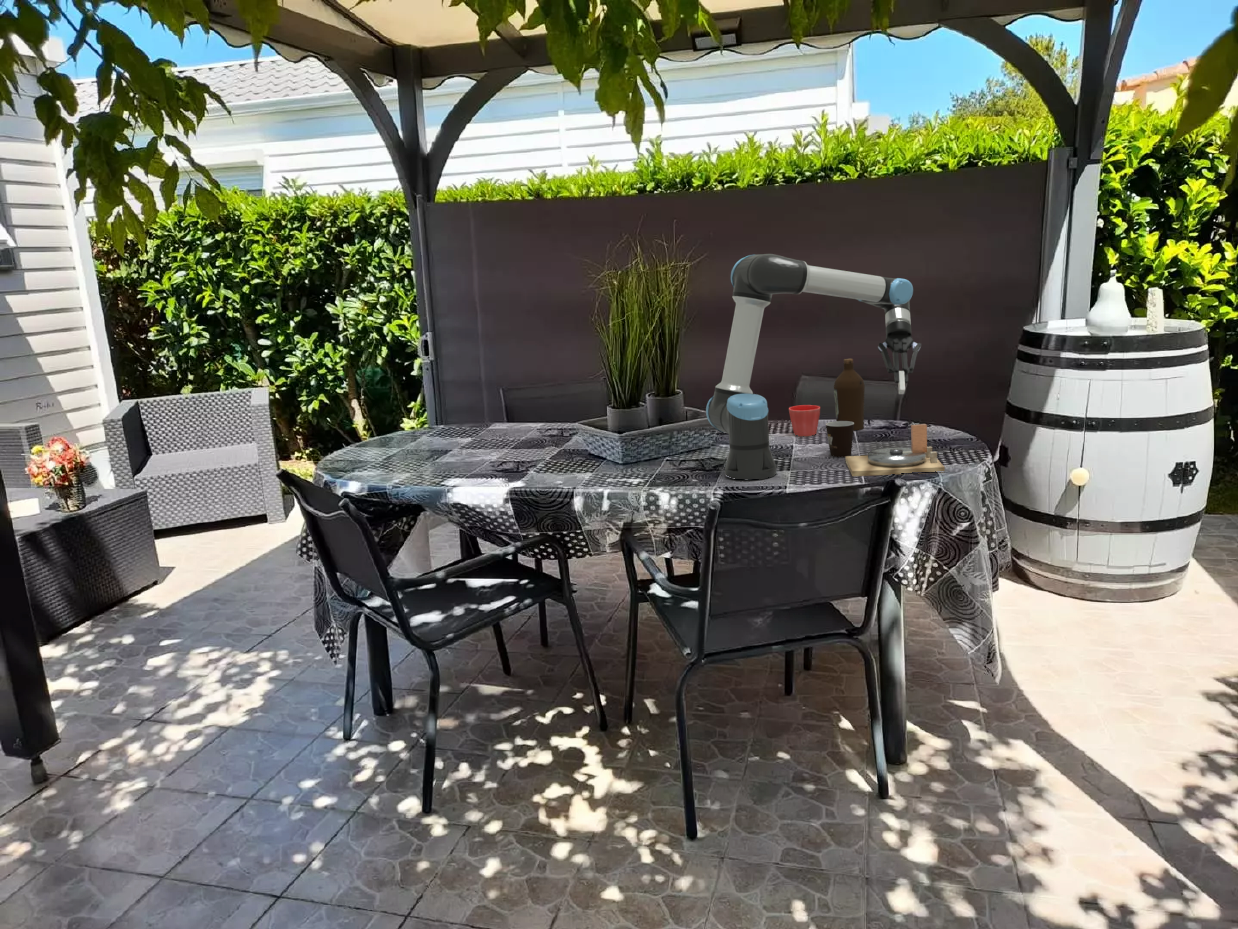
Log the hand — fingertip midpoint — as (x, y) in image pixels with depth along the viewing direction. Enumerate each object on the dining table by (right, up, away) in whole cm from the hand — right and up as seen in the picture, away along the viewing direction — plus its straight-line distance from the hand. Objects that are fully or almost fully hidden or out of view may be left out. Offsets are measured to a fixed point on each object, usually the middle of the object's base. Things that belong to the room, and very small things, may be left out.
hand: (901, 391), depth 262 cm
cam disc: (-4, -21, -8) cm, 23 cm away
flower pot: (-19, -11, +48) cm, 53 cm away
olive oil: (-2, -9, +51) cm, 52 cm away
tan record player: (-5, -22, -8) cm, 24 cm away
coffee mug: (-15, -19, +14) cm, 28 cm away
